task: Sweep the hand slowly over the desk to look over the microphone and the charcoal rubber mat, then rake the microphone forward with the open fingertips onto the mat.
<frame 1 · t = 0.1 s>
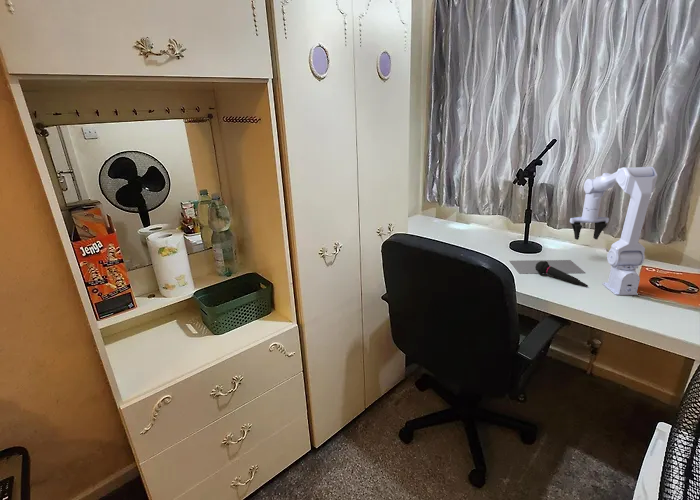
hand: (585, 238, 164), 10 cm above the table, tool pointing down, fingers open, 7 cm apart
microphone: (558, 280, 151), on the table, touching charcoal mat
charcoal mat: (545, 266, 163), on the table
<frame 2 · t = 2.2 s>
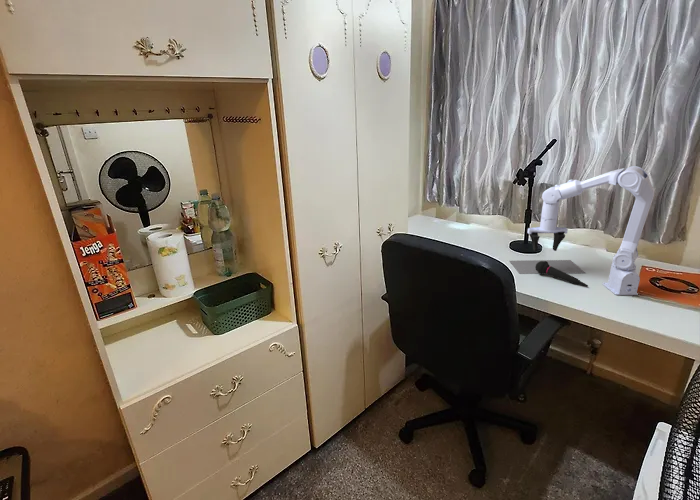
hand: (544, 250, 155), 9 cm above the table, tool pointing down, fingers open, 7 cm apart
nothing on the table moved.
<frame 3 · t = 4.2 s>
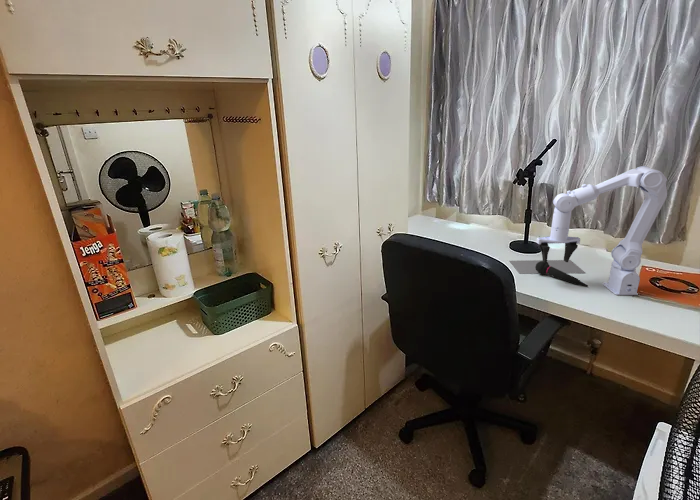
hand: (555, 261, 144), 9 cm above the table, tool pointing down, fingers open, 7 cm apart
nothing on the table moved.
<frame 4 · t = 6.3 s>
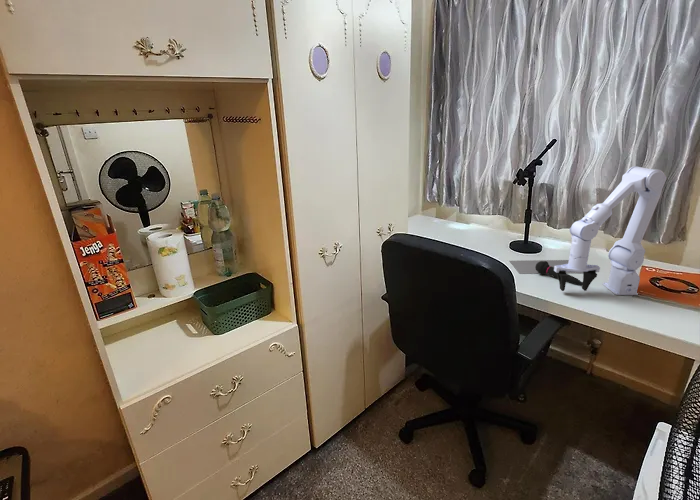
hand: (573, 289, 139), 2 cm above the table, tool pointing down, fingers open, 7 cm apart
nothing on the table moved.
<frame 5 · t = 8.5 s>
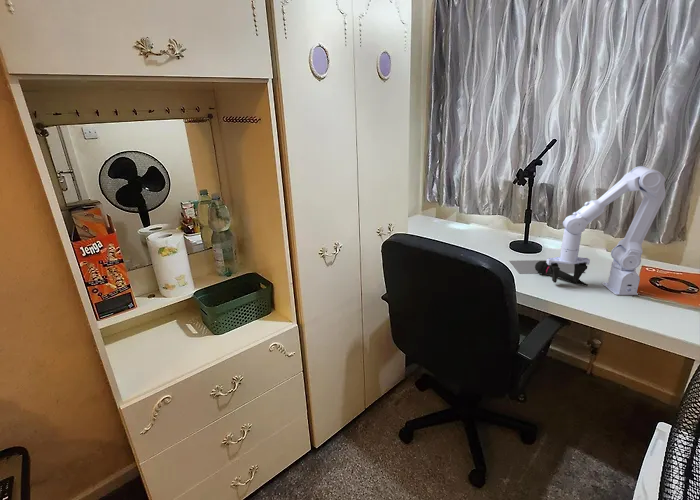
hand: (564, 281, 145), 2 cm above the table, tool pointing down, fingers open, 7 cm apart
microphone: (558, 279, 151), on the table, touching charcoal mat, gripper
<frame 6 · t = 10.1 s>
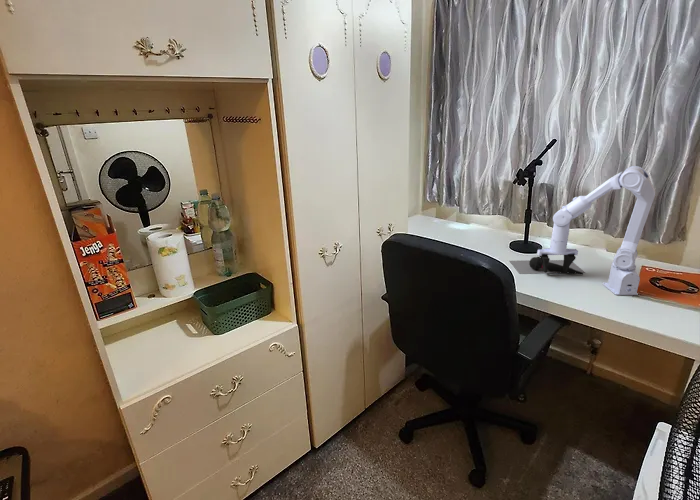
hand: (554, 271, 154), 2 cm above the table, tool pointing down, fingers open, 7 cm apart
microphone: (554, 272, 157), resting on charcoal mat, touching gripper
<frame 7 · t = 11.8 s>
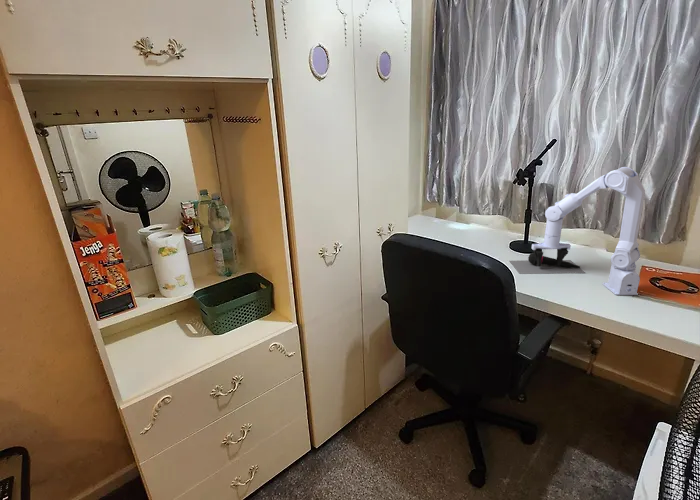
hand: (548, 265, 160), 2 cm above the table, tool pointing down, fingers open, 7 cm apart
microphone: (552, 267, 162), resting on charcoal mat, touching gripper
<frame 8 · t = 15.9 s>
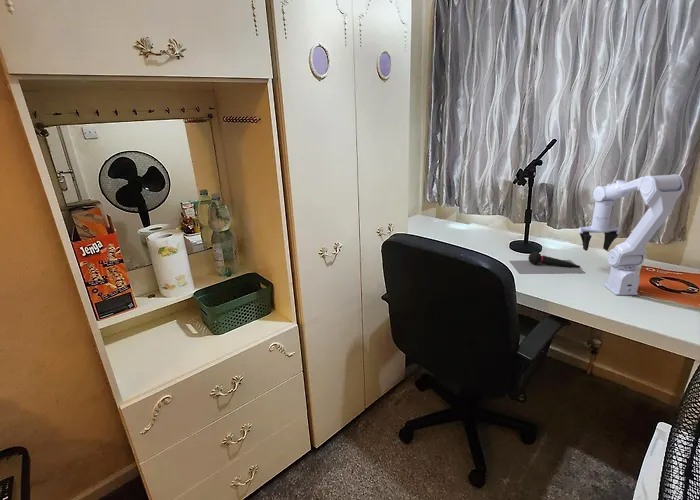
hand: (595, 249, 153), 9 cm above the table, tool pointing down, fingers open, 7 cm apart
microphone: (552, 266, 163), resting on charcoal mat
at the end: microphone inside the target area (2.9 cm from its centre), resting on charcoal mat; microphone moved 13.7 cm from its start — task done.
